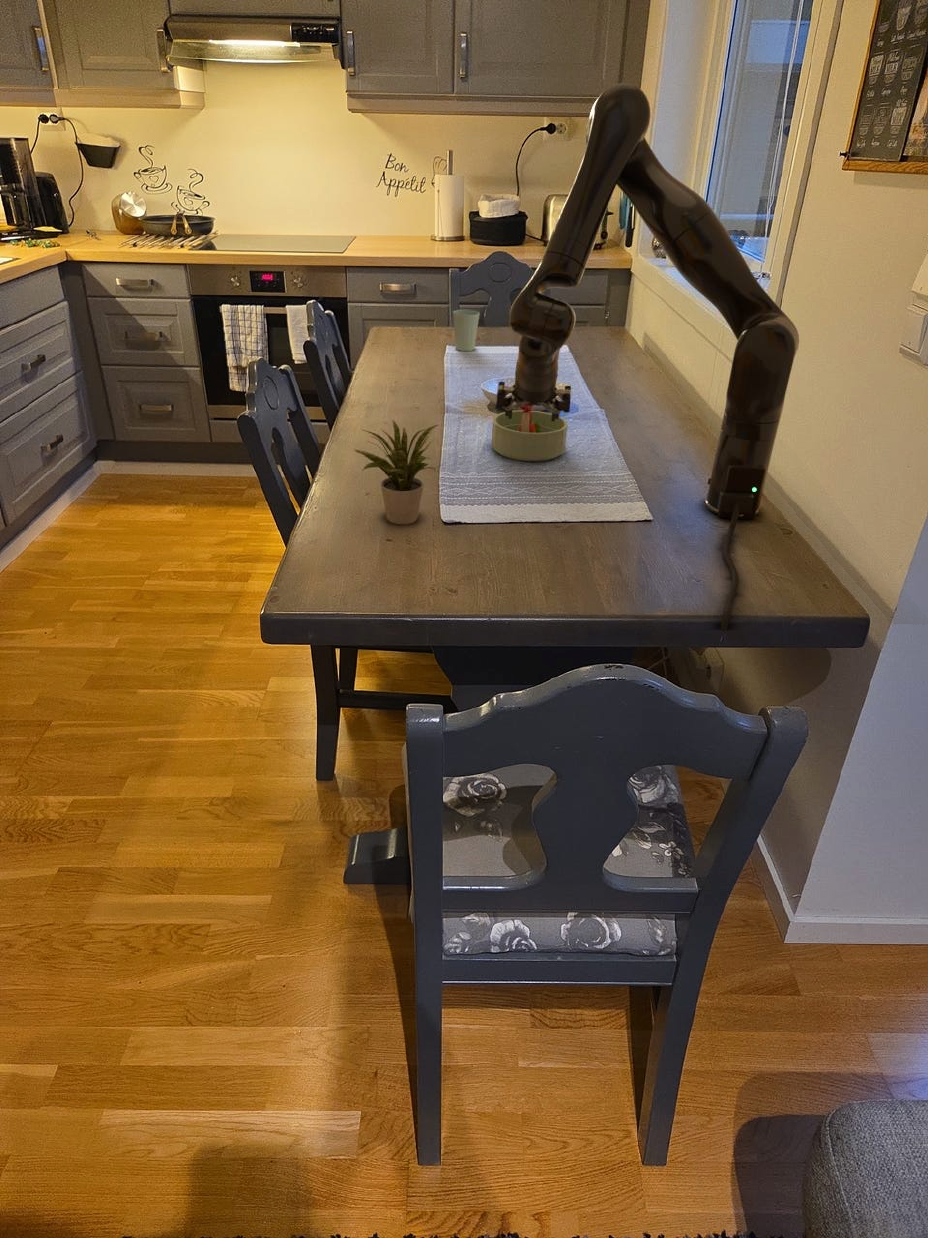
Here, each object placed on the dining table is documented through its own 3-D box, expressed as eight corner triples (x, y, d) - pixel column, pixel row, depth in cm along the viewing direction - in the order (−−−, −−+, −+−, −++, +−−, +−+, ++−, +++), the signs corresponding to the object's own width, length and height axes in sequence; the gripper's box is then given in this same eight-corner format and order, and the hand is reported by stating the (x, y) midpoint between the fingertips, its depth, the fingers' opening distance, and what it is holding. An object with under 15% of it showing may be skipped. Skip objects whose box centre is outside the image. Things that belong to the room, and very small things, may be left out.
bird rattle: (541, 461, 173) (543, 431, 178) (545, 419, 163) (547, 389, 169) (511, 459, 173) (514, 429, 178) (513, 417, 164) (516, 387, 169)
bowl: (565, 464, 167) (568, 435, 164) (489, 460, 168) (491, 430, 165) (563, 439, 180) (565, 412, 177) (492, 435, 181) (494, 408, 178)
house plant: (403, 492, 152) (403, 403, 143) (462, 514, 144) (465, 421, 136) (346, 515, 142) (342, 421, 134) (405, 539, 135) (406, 442, 126)
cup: (446, 349, 246) (448, 312, 241) (459, 344, 252) (461, 308, 247) (469, 353, 243) (471, 315, 238) (482, 348, 249) (484, 311, 244)
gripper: (576, 356, 151) (568, 401, 167) (498, 351, 152) (497, 396, 168) (574, 393, 149) (566, 435, 165) (495, 389, 150) (494, 430, 166)
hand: (531, 415), depth 166 cm, fingers open, 8 cm apart
